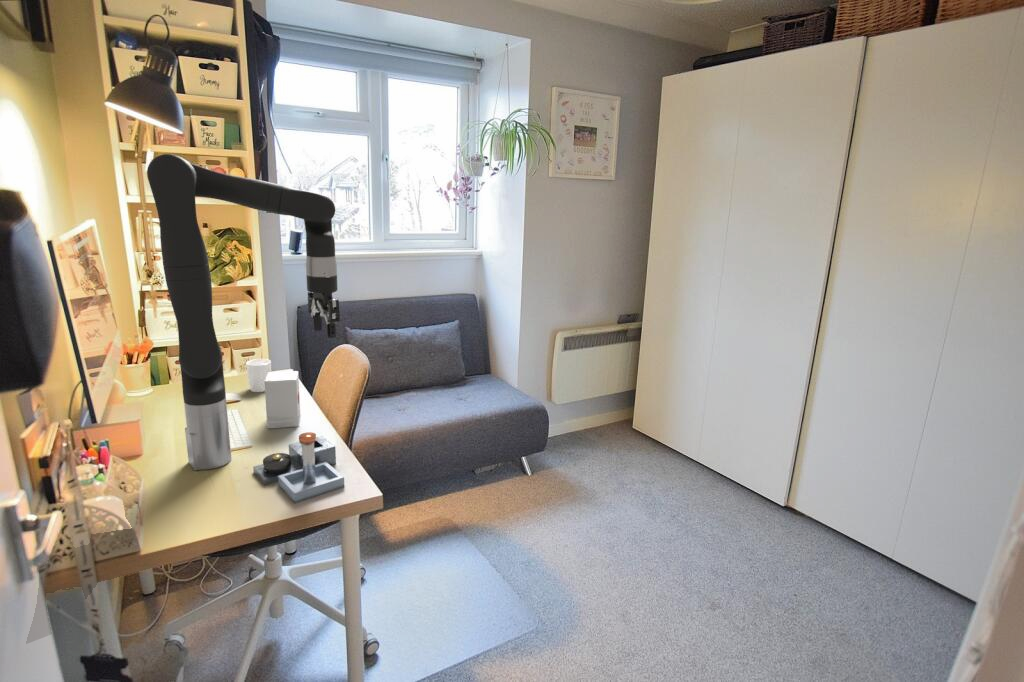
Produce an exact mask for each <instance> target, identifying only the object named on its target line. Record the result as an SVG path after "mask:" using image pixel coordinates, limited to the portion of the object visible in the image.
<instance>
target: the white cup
mask: <svg viewBox="0 0 1024 682" xmlns="http://www.w3.org/2000/svg"><path fill="white" fill-rule="evenodd" d="M245 367H246V372H247V373H246V374H247V380H248V385H249V391H250V392H252V393H263V392H264V393H265V379H266V376H267V374H268V372H272V361H271V360H270V359H268V358H255V359H251V360H248V361H246V363H245Z"/></svg>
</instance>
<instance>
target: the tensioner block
mask: <svg viewBox="0 0 1024 682" xmlns="http://www.w3.org/2000/svg"><path fill="white" fill-rule="evenodd" d="M314 453H315V465H317V464H320V463H323V462H327V463H328V464H329V465H331V466H333V465H336V464H337V460H336V459H337V456H336V455H337V454H336V445H334V443H332V442H331V441H330V440H328V439H327V438H326V437H324V436H323V435H320V436H316V441H315V442H314ZM300 469H303V462H302V443H300V442H299V441H296V442H294V443H293V442H291V443H289V444H288V453H284V452H276V453H272V454H269V455H267V456H264V458H263V459H262V464H258V465H255V466H253V473H254V474H255V475H256V477H257V478H258V479H259V480H260V481H261V482H262V483H263V485H265V486H267V485H270V484H273V483H277V482H278V476H279V475H283V474H286V473H290V472H293V471H296V470H300Z"/></svg>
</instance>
